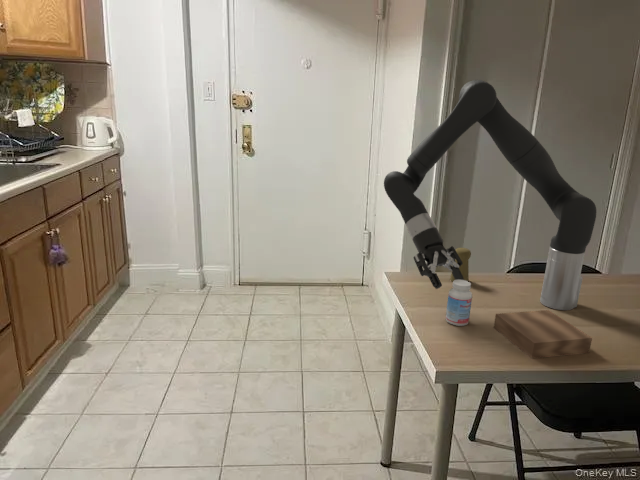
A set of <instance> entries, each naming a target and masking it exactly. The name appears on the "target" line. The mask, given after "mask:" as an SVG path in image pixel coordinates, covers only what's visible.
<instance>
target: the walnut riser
mask: <svg viewBox="0 0 640 480" xmlns="http://www.w3.org/2000/svg"><path fill="white" fill-rule="evenodd" d="M493 329H495V330H496V331H497V332H498V333H499V334H501V335H502V336H503V337H505V339H507V340H508V341H509V342H511V344H513V345H515V346H516V347H517V349H519V350H521V351H522V352H523V353H524V354H525V355H527V356H528V357H529V358H530V359H538V358H548V357H559V356H568V355H569V356H571V355H578V354H579V355H581V354H589V353H590V350H591V345H592V342H593V337H592V336H590V335H588V333H585V332H584V331H582V330H580V329H579V328H577V327H576V326H574V325H573V324H571V323H570V322H568V321H566V320H565V319H563V318H562V317H560V316H558V315H557V314H555V313H554V312H552V311H551V310H549V309H543V310H541V309H540V310H533V311H531V310H530V311H518V312H517V311H516V312H515V311H514V312H504V313H503V312H501V313H500V312H499V313H495V317H494V323H493Z"/></svg>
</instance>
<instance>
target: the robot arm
mask: <svg viewBox="0 0 640 480" xmlns="http://www.w3.org/2000/svg"><path fill="white" fill-rule="evenodd" d="M458 95H459V96H458V102H457V103H456V105H455V107H454V108H453V110H452V111H451V112H450V113H449V114H448V116H447V117H446V118H445V119H444V120H443V121H442V122H441V124H440V125H438V126H437V127H436V128H435V129H434V130H432V132H431V133H429V134H428V135H427V136H426V137H425V138H424V139H423V140H422V141H421V143H419V145H418V146H417V147H416V148H415V149H414V150H413V151H412V152H411V153H410V155H409V156H408V157H407V159H406V163H407V167H406V168H405V170H404V171H403V172H402V171H394V170H393V171H390V172H388V174H386V175H385V177H384V180H383V187H384V191H385V194H386V195H387V196H388V199H389V200H390V201H391V202H392V203H393V205H394V206H395V207H396V209H397V210H398V212H399V213H400V216H401V218H402V220H403V223H404V224H405V226H406V228H407V231H408V233H409V236H410V237H411V239H412V243H413V244H414V246H415V248H416V250H417V252H418V253H417V254H415V255H414V256H413V260H414V263H415V265H416V268H417V270H418V272H419V274H420V276H422V277H424V276H426V277H427V278H428V279H429V281H430V282H431V285H432V287H433V288H434V289H435V290H438V289H440V288H441V287H442V286H443V283H442V282H441V279H440V278H439V276H438V274H437V272H436V268H437V267H444V268H445V269H446V268H447V269H448V270H449V271H451V273H452V274H453V276H454V278H455V280H464V278H463V275H462V273H461V271H460V270H459V267H460V266H461V265H462V264H463V263H462V261H461V259H460V257H459V256H458V254H457V252H456V249H455V247H454V246H453V245H451V246H449V248H446V247H445V246H444V239H443V237H442V235H441V233H440V232H439V231H440V230H439V229H438V228H437V226H436V223H435V221H434V220H433V218H432V217H431V215H430V214H429V212H428V211H427V208H426V207H425V205H424V202H423V201H422V200H421V199H420V198H419V197H418V196H416V195H415V192H417V190H418V189H419V187H420V186H421V184H422V182H423V181H424V178H425V177H426V175H427V173H428V172H430V170H431V169H433V168H434V166H436V164H437V163H438V161H440V160H441V158H442V157H443V156H444V155H445V153H446V152H447V151H448V150H449V149H450V148H451V147H452V146H453V145H454V144H455V142H457V141H458V139H460V137H461V136H463V134H465V132H467V131H468V130H469V129H470V128H471V127H472V126H474V125H475V124H476V123H479V125H480V126H481V127H482V128H483V129H484V130H485V131H486V132H487V133H488V135H489V136H490V138H491V139H492V141H493V142H494V144H495V145H496V147H497V148H498V150H499V151H500V152H501V154H502V155H503V157H504V158H505V160H506V161H507V162H508V163H509V164H510V166H512V168H514V170H516V172H517V173H518V174H519V175H520V176H521V177H522V178H523V179H524V180H525V181H526V182H527V183H528V184H529V185H530V186H531V187H533V188H534V189H535V190H536V191H537V192H538V193H539V194H540V196H541V197H542V198H543V200H544V202H545V203H546V204H547V206H548V207H549V209H550V210H551V211H552V213H553V215H554V216H555V218H556V219H557V220H558V221H559V224H558V227H557V231H556V234H555V235H554V236H552V238H551V239H550V244H549V249H548V253H547V261H546V266H545V272H544V277H543V281H542V282H543V283H542V287H541V294H540V299H539V301H540V303H541V305H543V306H545V307H548V308H550V309H554V310H557V311H558V310H559V311H571V310H573V309H574V308H577V306H578V302H579V299H580V298H579V297H580V293H581V289H582V288H581V287H582V283H583V279H584V278H583V276H582V275H581V273H582V270H583V269H582V268H583V264H584V259H585V253H586V249H587V247H588V245H589V244H590V242H591V239H592V236H593V231H594V228H595V224H596V219H597V207H596V206H597V205H596V204H595V202H594V201H593V200H592V199H591V198H589V197H587V196H585V195H583V194H582V193H579V191H577V190H575V188H573V187H572V186H571V184H569V183H568V182H567V181H566V180H565V179H564V177H562V175H561V174H560V173H559V171H558V169H557V167H556V165H555V163H554V161H553V159H552V157H551V155H550V153H548V151H547V149H546V148H545V147H544V146H543V145H542V143H540V141H539V140H538V139H537V138H536V137H535V135H533V134H532V132H530V131H529V129H527V128H526V127H525V126H524V125H523V124H521V122H519V121H518V120H517V119H516V118H514V117H513V116H512V115H511V114H510V113H509V112H508V111H507V109H506V108H505V107H504V105H503V104H502V102H501V101H500V99H499V98H498V97H497V92H496V89H495V87H493V85H492V84H491V83H489V82H487V81H485V80H482V79H473V80H470V81H467V82H466V83H465V84H463V86H462V87H461V89H460V90H459V94H458ZM455 259H456V260H457V262H458V263H456V261H455Z"/></svg>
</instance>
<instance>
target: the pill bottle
mask: <svg viewBox="0 0 640 480" xmlns="http://www.w3.org/2000/svg"><path fill="white" fill-rule="evenodd" d="M471 287H472V283H471V282H470V281H469V282H468V281H466V280H454V281H453V282H452V287H451V288H450V289H449V291H448V295H447V296H448V297H447V304H446V310H445V321H446V322H447V323H448V324H451V325H453V326H457V327H463V326H466V325H468V324H469V322H470V315H471V308H472V301H473V293H472V291H471Z"/></svg>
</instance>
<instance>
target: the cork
mask: <svg viewBox="0 0 640 480" xmlns="http://www.w3.org/2000/svg"><path fill="white" fill-rule="evenodd" d="M455 250H456V252H457V254H458V256H459V257H460V259H461V261H462V263H463V264H462V265H461V266H460V267H459V270H460V271H461V273H462V275H463V278H464V280H466V281H469V282H470V280H469V278H470V277H469V276H470V275H469V260H470V258H471V257H472V256H471V255H472V252H471V250H470V249H468V248H466V247H457V248H456V249H455ZM455 261H456V263H458V262H457V260H456V259H455ZM450 280H451V281H452V283H453V281H454V280H455V278H454V276H453V274H452V272H451V273H450V277H449V281H450Z"/></svg>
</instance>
